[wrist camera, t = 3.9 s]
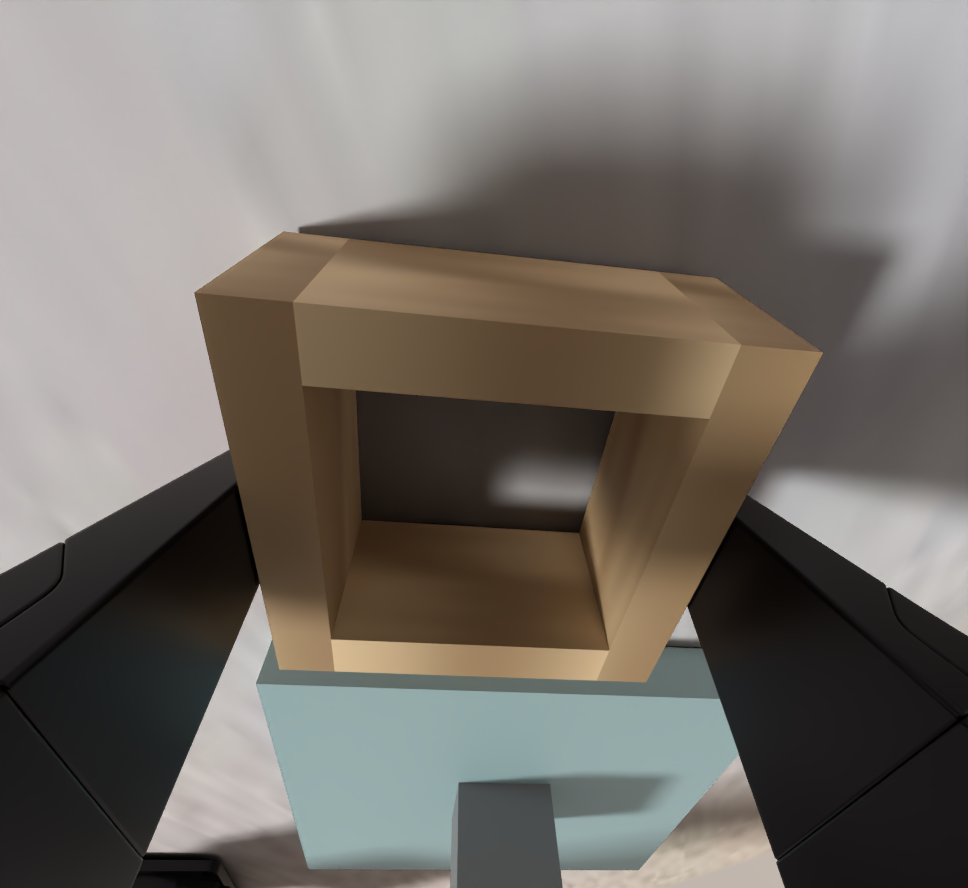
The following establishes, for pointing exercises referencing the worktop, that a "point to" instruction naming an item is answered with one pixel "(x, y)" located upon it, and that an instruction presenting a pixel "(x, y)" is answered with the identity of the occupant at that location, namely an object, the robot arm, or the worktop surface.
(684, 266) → the worktop surface
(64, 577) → the robot arm
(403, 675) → the post board
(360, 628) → the square frame
